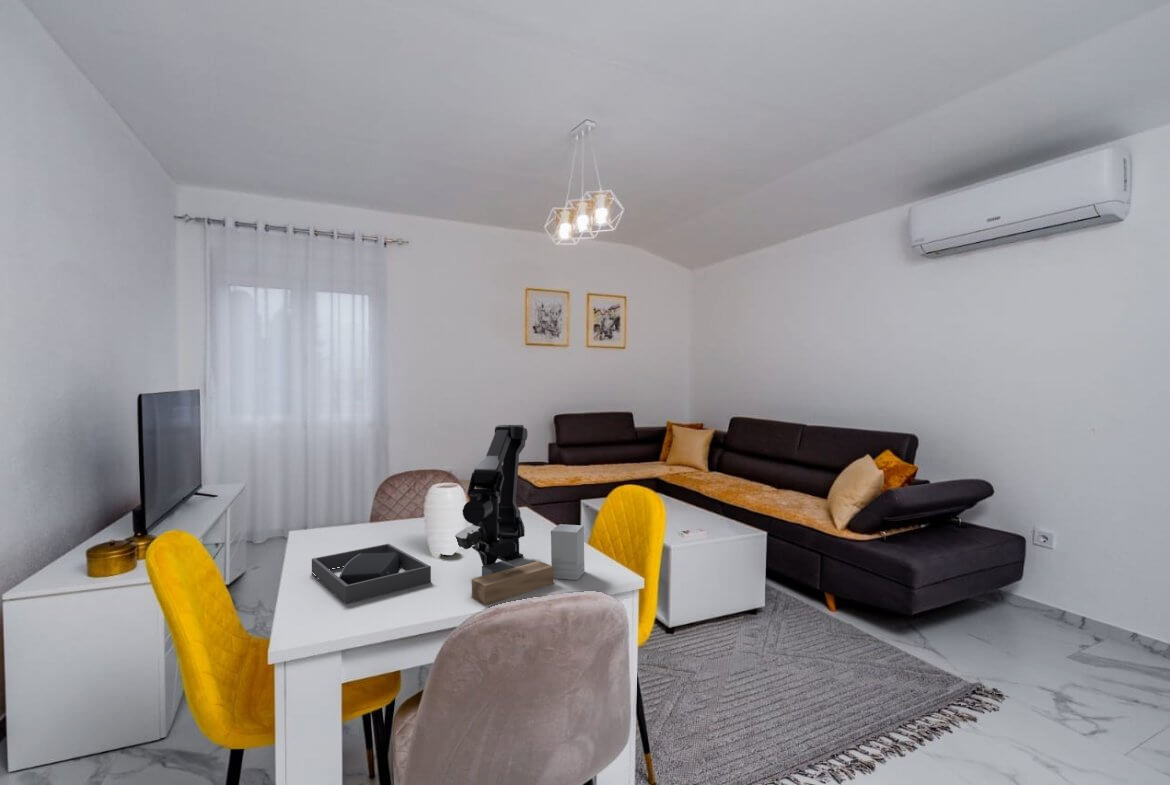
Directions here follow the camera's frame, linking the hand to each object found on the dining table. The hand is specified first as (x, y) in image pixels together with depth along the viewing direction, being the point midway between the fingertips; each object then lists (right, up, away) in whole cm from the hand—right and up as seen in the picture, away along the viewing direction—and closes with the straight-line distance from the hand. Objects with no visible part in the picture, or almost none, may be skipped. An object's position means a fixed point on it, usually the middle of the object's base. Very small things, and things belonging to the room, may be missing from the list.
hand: (487, 573), depth 139 cm
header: (+6, -1, -7) cm, 10 cm away
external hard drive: (-31, -1, +1) cm, 31 cm away
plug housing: (+3, -1, -3) cm, 4 cm away
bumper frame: (-31, -1, +1) cm, 31 cm away
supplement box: (+21, -1, +2) cm, 21 cm away
